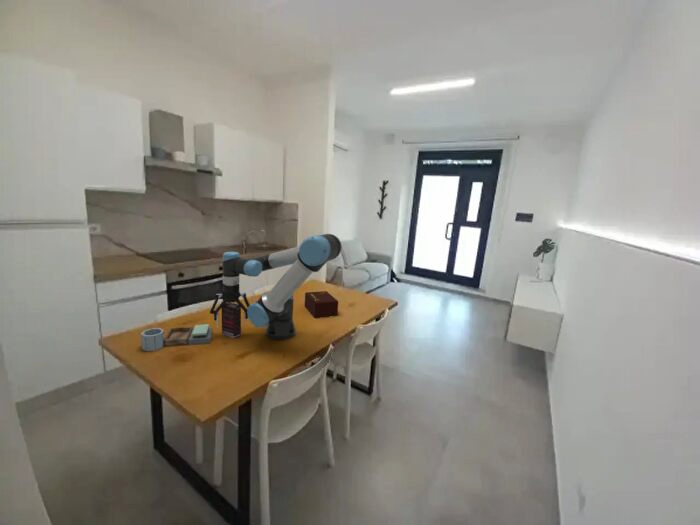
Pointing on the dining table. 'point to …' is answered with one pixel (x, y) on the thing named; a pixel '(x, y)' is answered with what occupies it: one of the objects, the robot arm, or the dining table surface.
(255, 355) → the dining table surface
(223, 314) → the supplement box
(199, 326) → the mint green block
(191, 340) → the blue-grey rectangular tray
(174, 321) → the dining table surface
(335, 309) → the box
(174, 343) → the brown wooden tray
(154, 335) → the cup
